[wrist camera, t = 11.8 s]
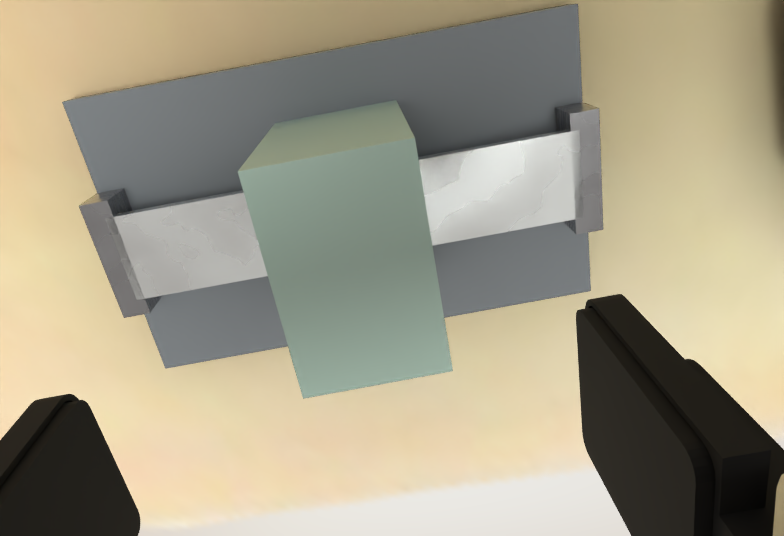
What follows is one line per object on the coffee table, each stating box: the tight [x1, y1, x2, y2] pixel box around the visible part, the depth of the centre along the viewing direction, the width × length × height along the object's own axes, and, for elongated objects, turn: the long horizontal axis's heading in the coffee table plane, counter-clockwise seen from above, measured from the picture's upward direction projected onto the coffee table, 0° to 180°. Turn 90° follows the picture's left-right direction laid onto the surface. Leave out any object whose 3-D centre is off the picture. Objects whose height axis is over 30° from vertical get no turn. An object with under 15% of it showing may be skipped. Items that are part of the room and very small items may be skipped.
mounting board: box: [62, 4, 591, 368], centre depth 23 cm, size 18×11×1 cm, turn 100°
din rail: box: [79, 102, 603, 318], centre depth 22 cm, size 18×4×2 cm, turn 100°
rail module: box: [238, 100, 453, 399], centre depth 19 cm, size 4×7×7 cm, turn 10°
